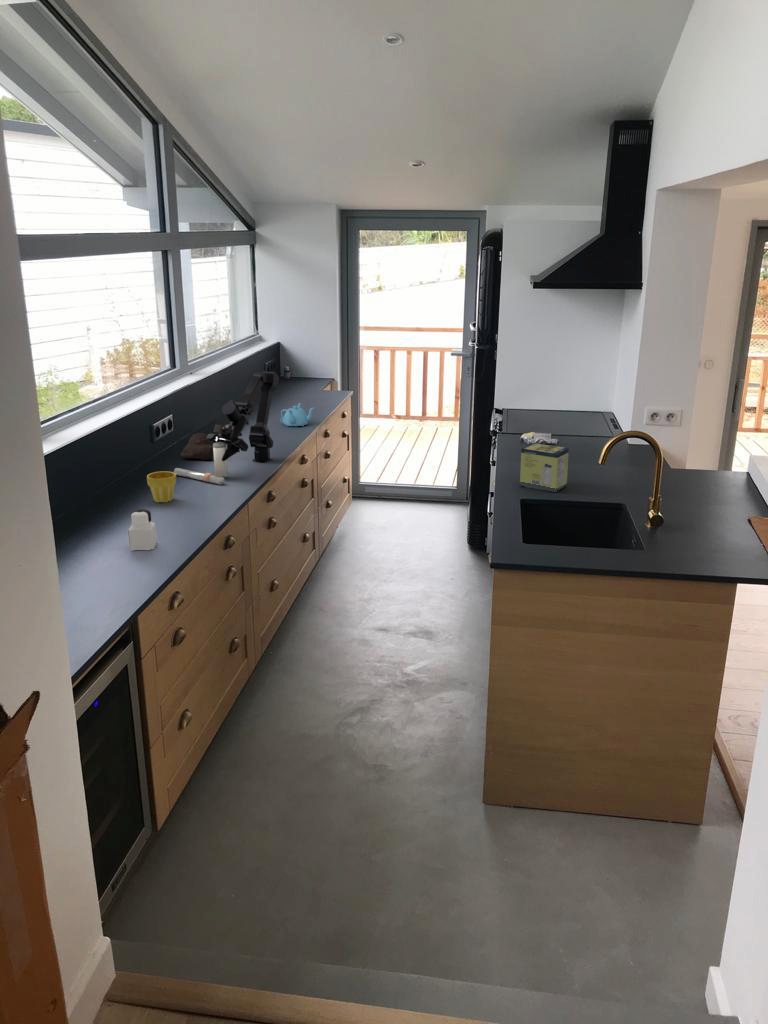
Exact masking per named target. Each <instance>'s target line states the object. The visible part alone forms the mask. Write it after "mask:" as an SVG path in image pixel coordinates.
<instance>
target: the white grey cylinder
mask: <svg viewBox="0 0 768 1024" xmlns="http://www.w3.org/2000/svg"><path fill="white" fill-rule="evenodd" d="M226 449H227V444H226V443H224V442H217V443H213V453H214V459H213V465H214V475H215V476H219V477H223V478H224V477H227V476H228V475H229V474H228V459H227V460H225V461H222V458H223V455H224V453H225V451H226Z"/></svg>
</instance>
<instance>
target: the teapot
mask: <svg viewBox="0 0 768 1024" xmlns="http://www.w3.org/2000/svg"><path fill="white" fill-rule="evenodd" d="M315 408H316V407H310V408H309V410H308V411H309V412H308V414H307V412H306V411H305V410H304V409H303V407H301V402H298V403H297V405H293V406H292V407H289V408H287V409H281V411H280V415H281V418H280V419H279V421H280V423H283V425H284V426H285V425H287V426H303V427H305V426H304V425H306V424H307V425H308V424H309V421H310V420H311V419H312V413H313V410H314V409H315ZM283 412H285V413H283ZM307 425H306V426H307ZM287 426H286V427H287Z"/></svg>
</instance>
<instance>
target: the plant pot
mask: <svg viewBox="0 0 768 1024" xmlns="http://www.w3.org/2000/svg"><path fill="white" fill-rule="evenodd" d="M146 482H147V486H149V488H150V492H151V494H152V495H151V496H152V497H153V501H154V502H156V503H159V502H164V503H169V502H172V501H173V498H174V493H175V492H174V491H175V485H176V483H177V475H176V474H175V473H174V471H167V470H165V471H162V470H160V471H154V472H151V473H149V474H147V475H146ZM168 501H169V502H168Z"/></svg>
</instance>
